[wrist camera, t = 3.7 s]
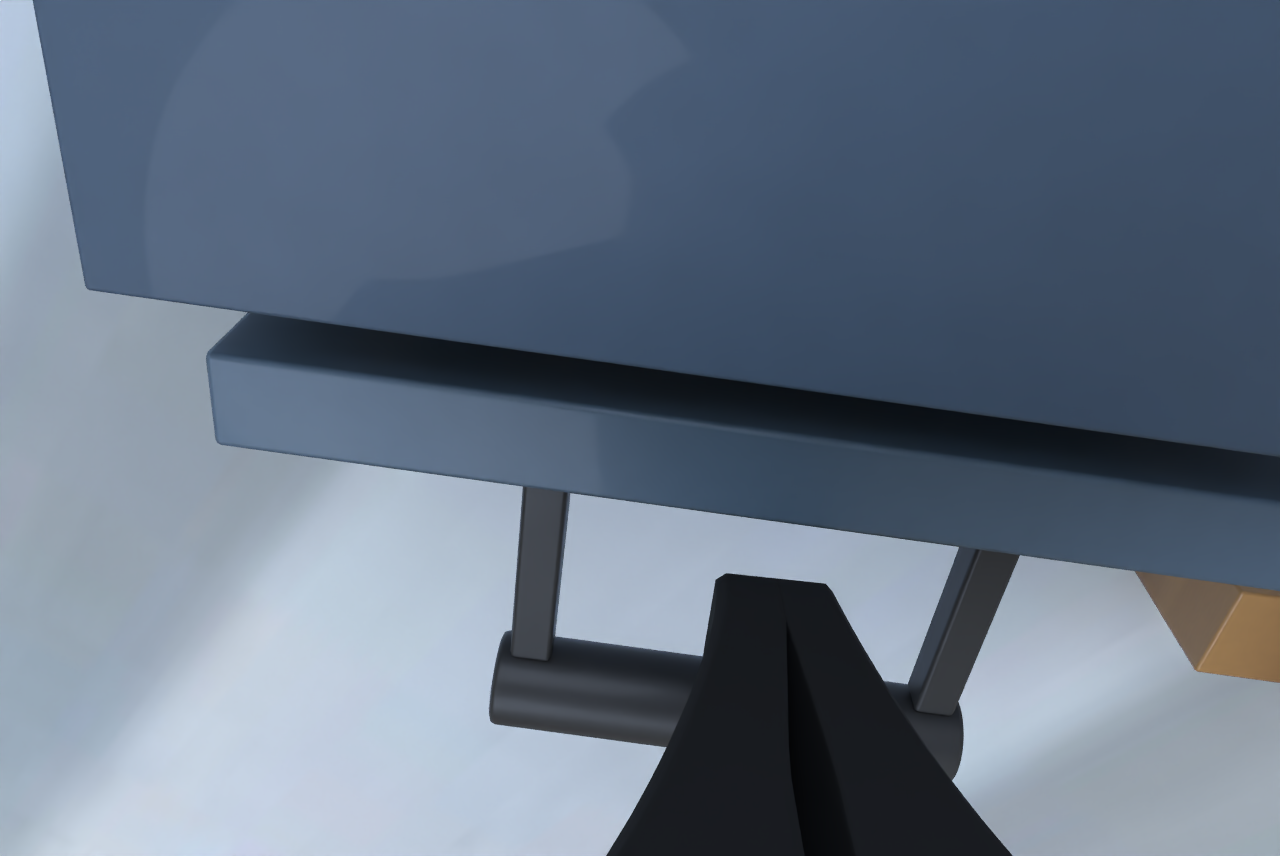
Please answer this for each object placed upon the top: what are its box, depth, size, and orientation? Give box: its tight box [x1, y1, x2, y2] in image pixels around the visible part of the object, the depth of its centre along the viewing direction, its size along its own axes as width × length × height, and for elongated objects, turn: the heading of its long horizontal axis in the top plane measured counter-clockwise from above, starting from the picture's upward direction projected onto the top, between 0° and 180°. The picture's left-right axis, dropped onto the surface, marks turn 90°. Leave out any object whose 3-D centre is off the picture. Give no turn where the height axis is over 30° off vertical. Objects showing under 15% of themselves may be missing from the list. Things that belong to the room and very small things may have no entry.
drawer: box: [206, 312, 1280, 780], centre depth 12 cm, size 18×13×6 cm
